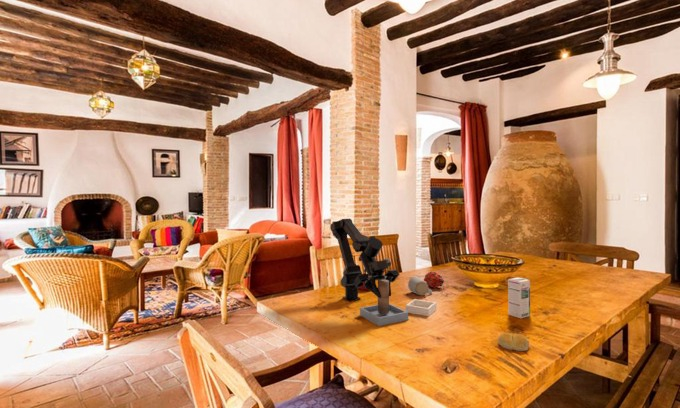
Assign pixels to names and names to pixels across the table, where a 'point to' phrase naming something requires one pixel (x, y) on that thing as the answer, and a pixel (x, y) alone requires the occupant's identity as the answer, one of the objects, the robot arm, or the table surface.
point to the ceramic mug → (418, 286)
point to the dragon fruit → (433, 280)
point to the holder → (421, 307)
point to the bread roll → (513, 341)
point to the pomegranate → (363, 286)
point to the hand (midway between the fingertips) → (385, 296)
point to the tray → (383, 315)
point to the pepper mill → (383, 296)
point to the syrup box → (519, 297)
